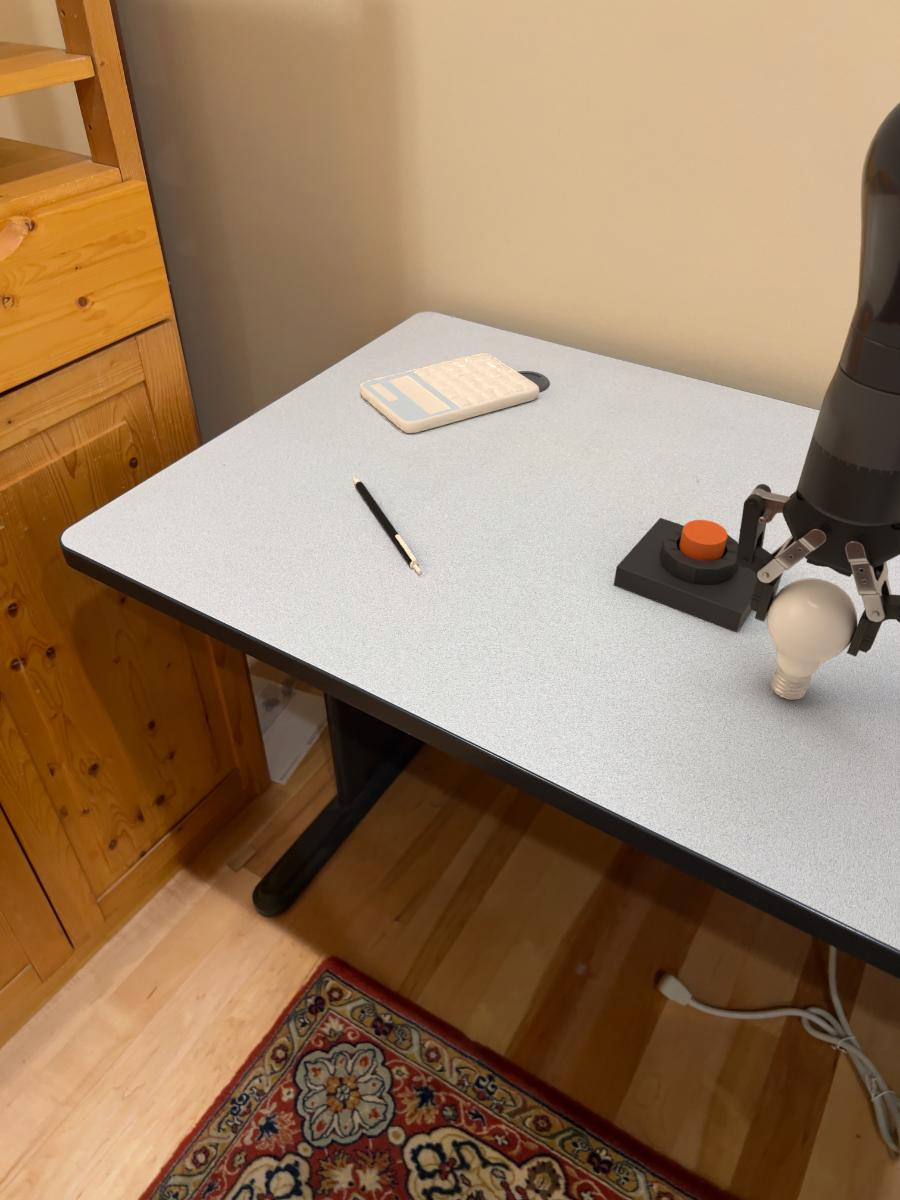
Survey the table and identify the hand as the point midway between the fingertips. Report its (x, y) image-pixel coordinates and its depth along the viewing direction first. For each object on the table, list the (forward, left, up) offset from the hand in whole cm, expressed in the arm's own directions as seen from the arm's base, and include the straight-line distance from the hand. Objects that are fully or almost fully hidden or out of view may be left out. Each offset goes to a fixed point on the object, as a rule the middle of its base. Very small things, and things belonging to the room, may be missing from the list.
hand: (807, 631), depth 68 cm
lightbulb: (0, 0, -7) cm, 7 cm away
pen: (+42, -1, -7) cm, 43 cm away
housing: (+12, -10, -7) cm, 17 cm away
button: (+12, -10, -3) cm, 16 cm away
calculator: (+53, -29, -7) cm, 61 cm away
